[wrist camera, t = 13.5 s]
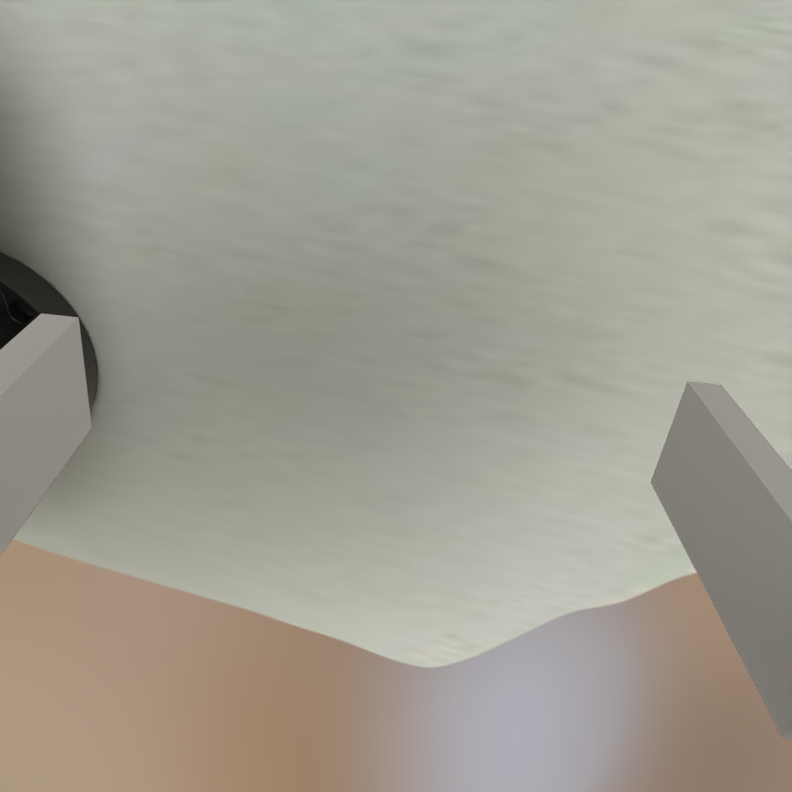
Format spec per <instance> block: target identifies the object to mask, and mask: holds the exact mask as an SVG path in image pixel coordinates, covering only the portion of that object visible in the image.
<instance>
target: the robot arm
mask: <svg viewBox="0 0 792 792" xmlns="http://www.w3.org/2000/svg"><path fill="white" fill-rule="evenodd" d="M96 388H97V367H96V360H95V356H94V352H93V349H92V345H91V343H90V340H89V338H88V335H87V333H86V331H85V329H84V327H83V325H82V324H81V322H80V320H79V317H77V316H76V314H75V313H74V311H73V310H72V309H71V307H70V306H69V305H68V303H67V302H66V301H65V300H64V299H63V298H62V296H61V295H60V294H59V293H58V292H57V291H56V290H55V289H54V288H53V287H51V286H50V285H49V284H48V283H47V282H46V281H45V280H43V279H42V278H41V277H40V276H38V275H37V274H36V273H34V272H33V271H32V270H30V269H29V268H27V267H25V266H24V265H22V264H21V263H19V262H17V261H15V260H14V259H12V258H10V257H8V256H6V255H3V254H1V253H0V556H1V555H2V553H3V552H4V550H5V549H6V548H7V546H8V545H9V543H10V542H11V541H12V539H13V538H14V536H15V535H16V534H17V532H18V531H19V529H20V528H21V527H22V525H23V524H24V522H25V521H26V520H27V518H28V517H29V515H30V514H31V513H32V511H33V510H34V508H35V507H36V505H37V504H38V503H39V501H40V500H41V498H42V497H43V496H44V494H45V493H46V491H47V490H48V489H49V487H50V486H51V484H52V483H53V482H54V480H55V479H56V477H57V476H58V475H59V473H60V472H61V470H62V469H63V468H64V466H65V465H66V463H67V462H68V461H69V459H70V458H71V456H72V455H73V454H74V452H75V451H76V449H77V448H78V447H79V445H80V444H81V442H82V441H83V440H84V438H85V437H86V435H87V434H88V433H89V431H90V430H91V428H92V425H91V417H90V409H91V407H92V404H93V401H94V398H95V394H96ZM651 484H652V486H653V488H654V490H655V492H656V494H657V496H658V498H659V500H660V501H661V503H662V505H663V507H664V509H665V511H666V513H667V515H668V517H669V519H670V521H671V523H672V525H673V527H674V529H675V531H676V533H677V535H678V536H679V538H680V540H681V542H682V544H683V546H684V548H685V550H686V552H687V554H688V556H689V558H690V560H691V562H692V564H693V566H694V568H695V570H696V571H697V573H698V575H699V577H700V579H701V581H702V583H703V585H704V587H705V589H706V591H707V593H708V595H709V597H710V598H711V601H712V602H713V605H714V606H715V608H716V610H717V612H718V614H719V616H720V618H721V620H722V622H723V624H724V626H725V628H726V630H727V632H728V634H729V636H730V638H731V640H732V641H733V643H734V645H735V647H736V649H737V651H738V653H739V655H740V657H741V659H742V661H743V663H744V665H745V667H746V669H747V671H748V673H749V675H750V676H751V678H752V680H753V682H754V684H755V686H756V688H757V690H758V692H759V694H760V696H761V698H762V700H763V702H764V704H765V705H766V707H767V710H768V711H769V713H770V715H771V717H772V719H773V721H774V723H775V725H776V727H777V729H778V731H779V733H780V735H781V737H782V738H787V739H792V470H791V469H790V468H789V467H788V465H787V464H786V463H785V462H784V460H783V459H782V458H781V457H780V456H779V454H778V453H777V452H776V451H775V450H774V448H773V447H772V446H771V445H770V444H769V442H768V441H767V440H766V439H765V437H764V436H763V435H762V434H761V433H760V431H759V430H758V429H757V428H756V427H755V425H754V424H753V423H752V422H751V420H750V419H749V418H748V417H747V416H746V414H745V413H744V412H743V411H742V410H741V408H740V407H739V406H738V405H737V403H736V402H735V401H734V400H733V399H732V397H731V396H730V395H729V394H728V393H727V391H726V390H725V389H724V388H723V386H722V385H716V384H707V383H697V382H688V381H687V384H686V387H685V390H684V392H683V395H682V398H681V401H680V403H679V406H678V409H677V412H676V414H675V417H674V420H673V423H672V425H671V428H670V431H669V433H668V436H667V439H666V442H665V444H664V447H663V450H662V453H661V455H660V458H659V461H658V464H657V466H656V469H655V472H654V475H653V477H652V480H651Z"/></svg>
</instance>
